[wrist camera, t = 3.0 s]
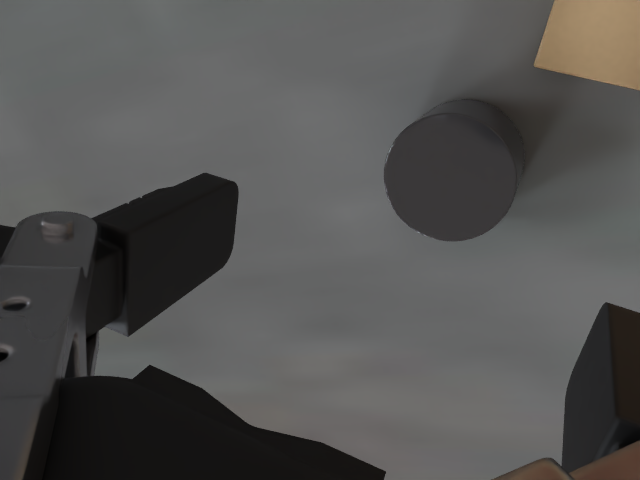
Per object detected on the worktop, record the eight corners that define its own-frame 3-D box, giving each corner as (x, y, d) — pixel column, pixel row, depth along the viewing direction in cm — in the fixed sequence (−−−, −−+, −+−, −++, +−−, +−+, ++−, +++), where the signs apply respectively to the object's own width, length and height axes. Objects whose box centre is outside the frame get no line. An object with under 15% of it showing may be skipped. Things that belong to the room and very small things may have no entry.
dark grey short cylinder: (395, 194, 24) (371, 219, 22) (421, 86, 22) (399, 98, 20) (503, 228, 23) (493, 258, 20) (542, 115, 21) (536, 133, 18)
